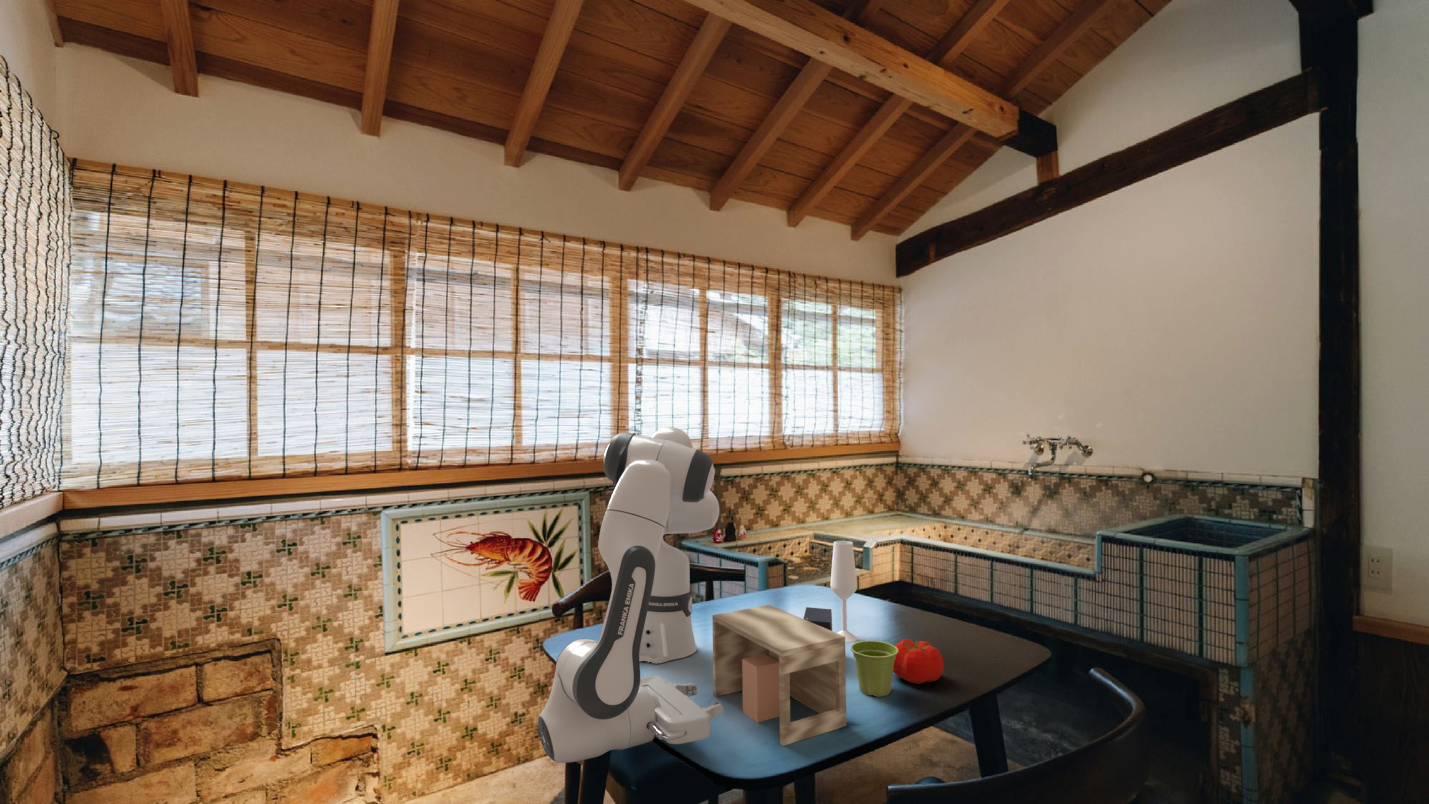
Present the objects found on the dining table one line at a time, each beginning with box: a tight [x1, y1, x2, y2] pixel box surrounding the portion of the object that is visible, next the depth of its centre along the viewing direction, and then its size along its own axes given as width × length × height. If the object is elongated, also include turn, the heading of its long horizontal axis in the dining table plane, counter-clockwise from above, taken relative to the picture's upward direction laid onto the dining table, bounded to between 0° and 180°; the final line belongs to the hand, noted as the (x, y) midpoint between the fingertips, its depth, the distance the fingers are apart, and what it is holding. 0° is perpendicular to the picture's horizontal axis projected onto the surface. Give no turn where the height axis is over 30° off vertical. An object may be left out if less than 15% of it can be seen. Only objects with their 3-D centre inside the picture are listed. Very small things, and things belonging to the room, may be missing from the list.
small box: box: [802, 606, 833, 631], centre depth 152 cm, size 11×6×10 cm, turn 168°
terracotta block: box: [742, 654, 780, 723], centre depth 124 cm, size 5×5×10 cm
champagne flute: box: [829, 540, 859, 643], centre depth 167 cm, size 7×7×24 cm
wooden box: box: [711, 604, 847, 746], centre depth 126 cm, size 14×24×16 cm, turn 30°
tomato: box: [893, 638, 945, 685], centre depth 140 cm, size 11×11×8 cm
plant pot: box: [850, 640, 898, 698], centre depth 134 cm, size 9×9×9 cm
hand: (707, 697), depth 118 cm, fingers open, 8 cm apart
